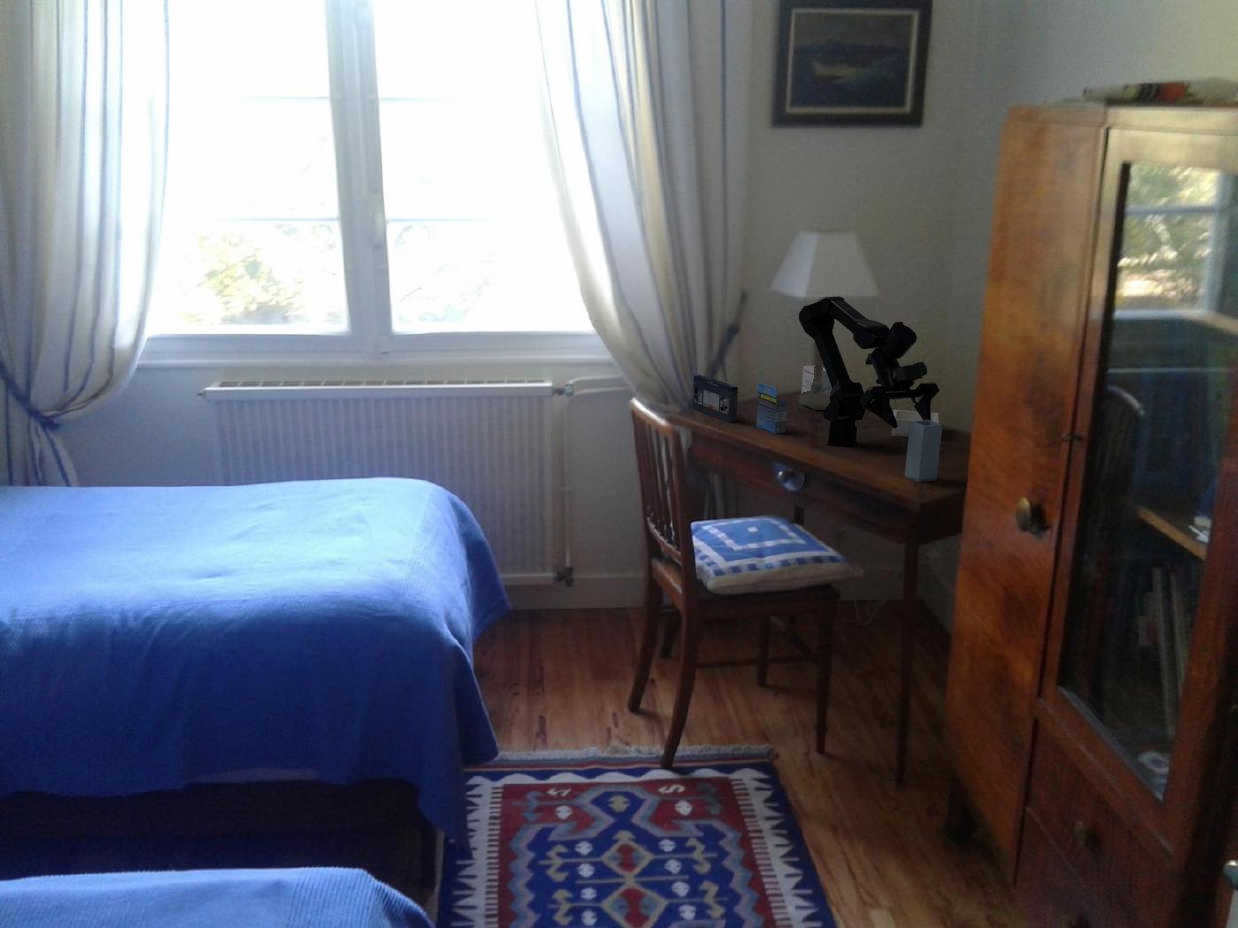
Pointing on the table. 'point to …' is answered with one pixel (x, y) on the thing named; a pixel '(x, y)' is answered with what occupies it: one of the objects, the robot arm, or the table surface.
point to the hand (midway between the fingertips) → (912, 426)
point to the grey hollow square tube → (923, 450)
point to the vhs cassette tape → (715, 398)
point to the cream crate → (908, 421)
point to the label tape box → (771, 410)
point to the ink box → (809, 376)
